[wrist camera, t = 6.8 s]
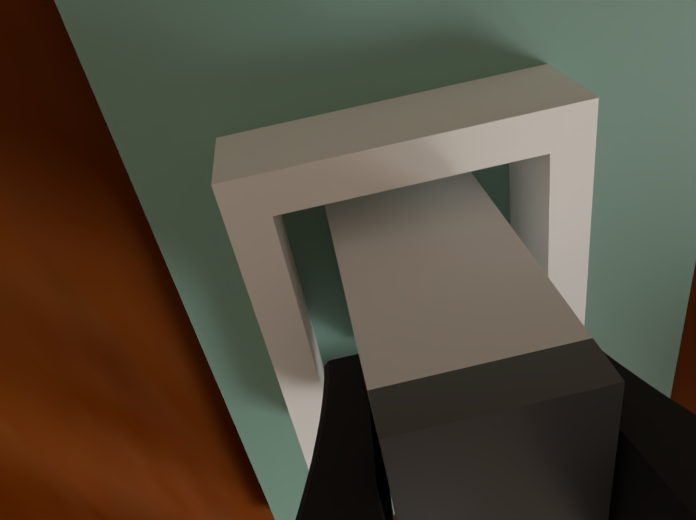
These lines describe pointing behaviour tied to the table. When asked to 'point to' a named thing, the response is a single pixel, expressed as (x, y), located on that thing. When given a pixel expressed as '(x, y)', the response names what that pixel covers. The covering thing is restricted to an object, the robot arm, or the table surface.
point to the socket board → (395, 167)
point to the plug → (473, 361)
